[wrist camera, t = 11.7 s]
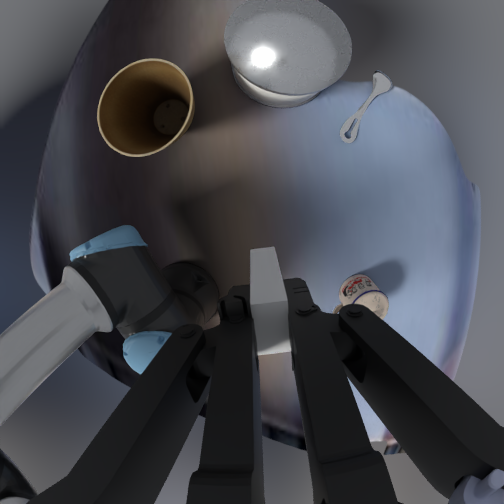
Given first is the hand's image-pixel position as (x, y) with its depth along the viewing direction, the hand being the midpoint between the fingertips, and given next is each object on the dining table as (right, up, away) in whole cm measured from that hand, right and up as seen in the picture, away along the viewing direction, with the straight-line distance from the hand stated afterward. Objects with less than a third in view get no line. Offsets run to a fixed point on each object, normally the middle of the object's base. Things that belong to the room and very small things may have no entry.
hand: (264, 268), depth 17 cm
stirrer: (+22, +31, +28) cm, 47 cm away
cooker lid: (+5, +34, +13) cm, 36 cm away
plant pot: (-16, +27, +29) cm, 43 cm away
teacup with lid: (+22, -8, +42) cm, 48 cm away
